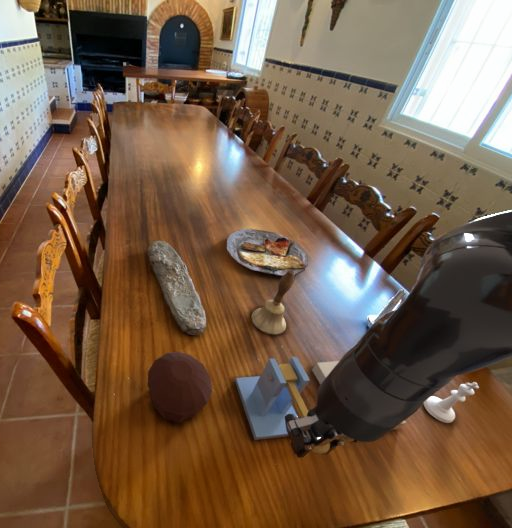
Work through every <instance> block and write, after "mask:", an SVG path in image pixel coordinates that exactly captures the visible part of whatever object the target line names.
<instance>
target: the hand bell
mask: <svg viewBox="0 0 512 528" xmlns="http://www.w3.org/2000/svg"><path fill="white" fill-rule="evenodd" d="M294 277H295V276H294V271H292V270H288V271H287V273H286V274H284V275H283V276H282V275H281V278H280V279H279V282H278V286H277V292H276V294H275V296H274V297H273V299H267V301H266V302H265V303H264V304H263V306H262V307H259V308H256V309H254V311H252V313H251V316H250V317H251V322H252V324H253V325H254V326H255V327H256V328H257V329H258V330H260V331H261V332H263V333H265V334H269V335H281V334H282V333H284V332H285V331H286V328H287V322H286V319H285V318H284V313H285V306H284V305H283V303H282V302H283V299H284V297H285V295H286V293H288V292H289V290H290V289H291V288H292V286H293V284H294Z"/></svg>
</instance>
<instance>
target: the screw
mask: <svg viewBox="0 0 512 528" xmlns="http://www.w3.org/2000/svg"><path fill="white" fill-rule="evenodd" d="M406 295H407V291H406V290H405V289H399V290H398V291H397V293H396V294H395V295H394V296H391V298H390V299H389V300H388V302H387V303H386V304H385V305H384V307H383V308H382V309H381V310H380V312H379V313H378V314H377V315H376V314H368V315H367V316H366V318H365V319H366V322H367V328H368V329H369V328H370V327H371V326H372V325H373V324H374V322H375V321H377V320H378V319H379V318H380V317H381V316H383V315H384V314H386V313H388V312H390V311H394V310H397V307H398V306H400V305H401V302H403V301H402V299H403V298H404V296H406Z"/></svg>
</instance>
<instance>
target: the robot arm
mask: <svg viewBox="0 0 512 528" xmlns="http://www.w3.org/2000/svg"><path fill="white" fill-rule="evenodd" d="M419 267H420V268H419V272H418V275H417V279H416V282H415V284H414V285H413V287H412V288H411V290H410V292H409V293H408V294H407V296H406V297H405V298H404V300H403V301H402V303H400V304H399V305H398V306H397V307H398V308H396V309H395V310H394V311H390V312H388V313H386V314H384V315H383V316H381V317H380V318H379V319H378V320H377V321H375V322H374V324H373V325H372V326H371V327H370V328H369V327H368V329H367V331H366V332H365V333H364V334H363V335H362V337H361V338H360V339H359V340H358V342H357V343H356V344H355V345H354V346H353V347H352V348H350V349H349V350H348V351H347V352H346V353H344V355H343V356H342V357H341V358H340V360H338V361H339V362H338V363H337V365H336V366H335V367H334V368H333V370H332V371H331V372H330V373H329V375H328V376H327V377H326V378H325V380H324V381H323V382H322V383H321V385H320V384H319V387H318V389H317V396H316V405H315V406H314V407H313V408H311V409H309V410H308V413H307V417H304V418H301V417H300V418H299V417H297V416H298V415H297V416H296V417H295V416H294V414H287V415H286V416H285V424H286V430H287V433H288V435H289V436H288V438H289V440H290V446H291V450H292V451H293V453H294V455H295V456H296V457H297V459H300V458H301V459H302V458H305V456H306V455H308V454H309V453H310V452H312V451H311V450H312V449H313V448H314V447H316V446H325V445H327V444H328V443H330V449H329V450H328V451H327V452H326V453H324V454H322V455H323V456H324V455H329V454H330V453H331V452H332V451H333V450H335V449H336V448H337V447H343V446H345V445H346V444H347V443H352V444H353V443H354V444H357V443H359V442H362V443H373V442H376V441H379V440H380V439H382V438H383V437H385V436H386V435H387V434H388V433H390V432H391V431H393V430H392V429H394V428H395V427H396V426H398V425H399V424H400V423H402V422H403V421H404V420H405V421H406V420H407V419H409V418H410V417H411V416H413V415H414V414H415V413H417V412H418V410H419V409H420V408H421V407H422V406H423V405H424V404H423V403H424V402H425V401H426V400H427V399H428V398H429V397H431V396H434V395H435V394H436V393H437V392H440V390H441V389H443V388H444V387H445V386H446V385H448V384H449V383H450V382H452V381H453V380H454V379H456V377H458V376H463V375H466V374H469V373H473V372H476V371H478V370H481V369H484V368H486V367H489V366H492V365H495V364H498V363H501V362H503V361H506V360H508V359H511V358H512V209H511V210H507V211H503V212H498V213H495V214H491V215H487V216H483V217H480V218H477V219H474V220H472V221H469V222H466V223H464V224H461V225H459V226H457V227H454V228H452V229H449V230H448V231H447V232H445V233H443V234H441V235H439V236H438V237H436V238H435V239H434V240H433V241H432V242H431V243H430V244H429V246H428V247H427V248H426V249H425V252H424V254H423V256H422V258H421V263H420V266H419ZM298 418H299V419H298ZM307 431H308V433H309V435H310V437H311V440H310V438H309V435H308V433H307Z"/></svg>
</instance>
